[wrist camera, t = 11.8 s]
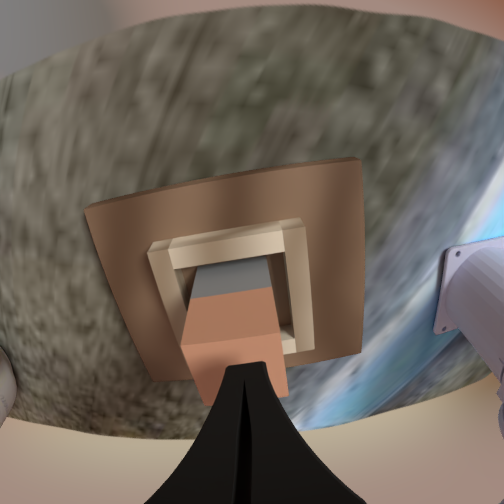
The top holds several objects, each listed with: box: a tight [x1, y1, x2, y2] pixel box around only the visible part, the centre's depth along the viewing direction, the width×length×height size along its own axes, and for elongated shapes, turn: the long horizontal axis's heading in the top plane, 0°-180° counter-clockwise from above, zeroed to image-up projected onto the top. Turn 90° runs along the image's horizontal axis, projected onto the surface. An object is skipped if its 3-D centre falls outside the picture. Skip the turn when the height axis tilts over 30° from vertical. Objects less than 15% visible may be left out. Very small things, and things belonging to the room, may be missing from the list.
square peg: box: [180, 255, 289, 406], centre depth 16 cm, size 4×4×7 cm
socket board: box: [84, 157, 365, 382], centre depth 19 cm, size 16×14×3 cm
